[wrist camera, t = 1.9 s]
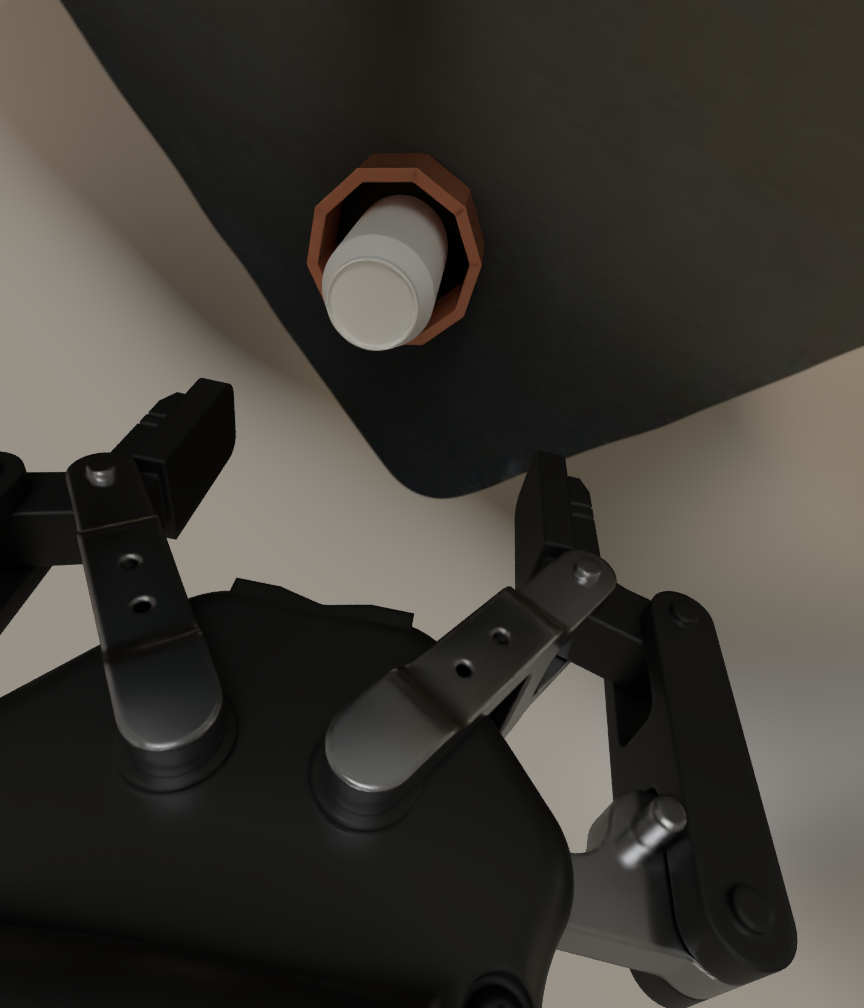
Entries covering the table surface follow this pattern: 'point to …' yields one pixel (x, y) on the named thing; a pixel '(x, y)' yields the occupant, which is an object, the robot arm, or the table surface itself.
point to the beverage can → (386, 274)
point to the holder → (437, 186)
